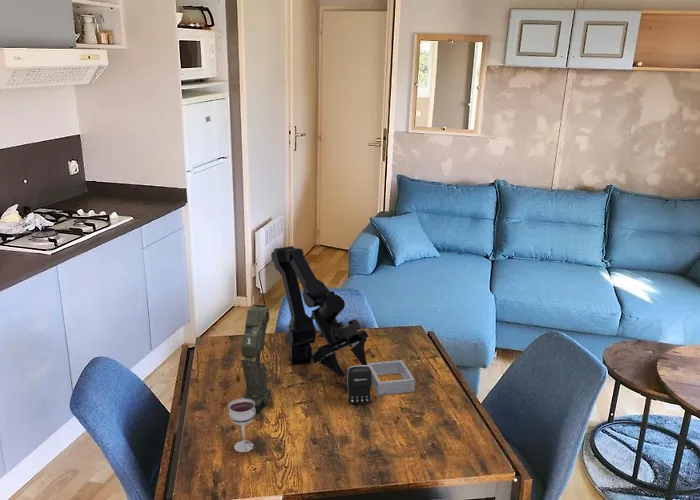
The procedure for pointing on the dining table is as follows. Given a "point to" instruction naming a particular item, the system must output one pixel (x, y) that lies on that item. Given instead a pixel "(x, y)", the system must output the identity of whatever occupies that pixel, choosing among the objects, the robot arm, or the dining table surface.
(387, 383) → the hollow square metal frame
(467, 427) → the dining table surface
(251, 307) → the mechanical leg
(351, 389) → the battery charger
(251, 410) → the wineglass
